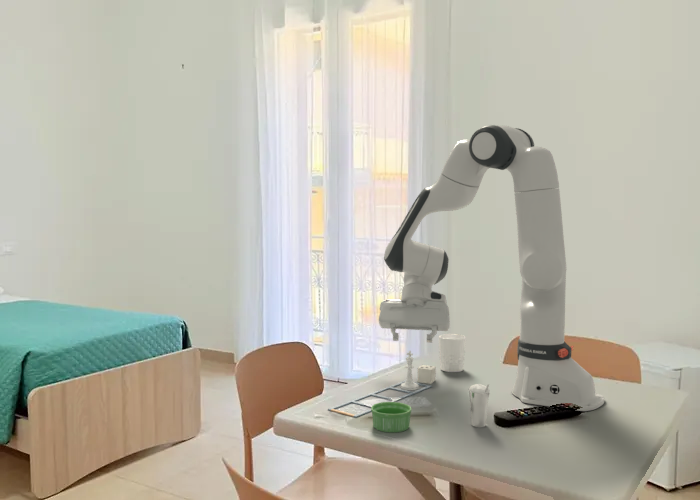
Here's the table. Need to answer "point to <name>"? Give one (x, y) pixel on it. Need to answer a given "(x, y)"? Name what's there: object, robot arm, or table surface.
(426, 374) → the die
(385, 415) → the ramekin
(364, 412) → the ladder
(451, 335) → the white cup
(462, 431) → the table surface
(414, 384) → the chess piece
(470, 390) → the milkshake
